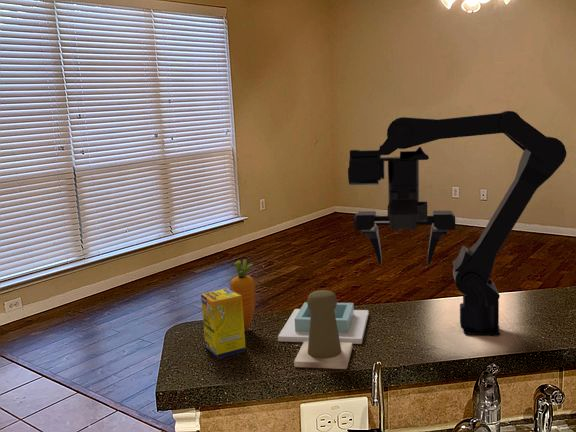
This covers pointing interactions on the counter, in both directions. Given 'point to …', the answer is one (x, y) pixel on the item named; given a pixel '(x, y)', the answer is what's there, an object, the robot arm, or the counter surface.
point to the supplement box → (223, 322)
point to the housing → (346, 318)
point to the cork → (323, 325)
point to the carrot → (245, 291)
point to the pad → (335, 362)
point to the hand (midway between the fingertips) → (404, 264)
